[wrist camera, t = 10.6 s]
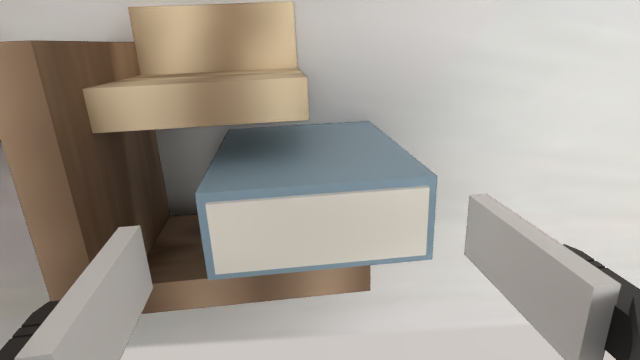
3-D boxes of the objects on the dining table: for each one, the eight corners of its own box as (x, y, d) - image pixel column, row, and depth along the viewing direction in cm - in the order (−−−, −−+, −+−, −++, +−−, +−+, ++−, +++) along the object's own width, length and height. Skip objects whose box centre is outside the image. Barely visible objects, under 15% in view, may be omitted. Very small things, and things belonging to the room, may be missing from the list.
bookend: (150, 105, 27) (92, 133, 18) (132, 8, 25) (59, -11, 16) (298, 96, 28) (309, 119, 19) (292, 2, 26) (302, -18, 17)
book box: (235, 183, 29) (207, 283, 17) (228, 129, 28) (193, 196, 16) (368, 173, 30) (434, 262, 18) (368, 120, 29) (439, 177, 16)
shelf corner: (146, 240, 30) (69, 360, 19) (106, 43, 25) (-30, 42, 14) (343, 223, 31) (383, 325, 20) (339, 33, 27) (388, 25, 15)
